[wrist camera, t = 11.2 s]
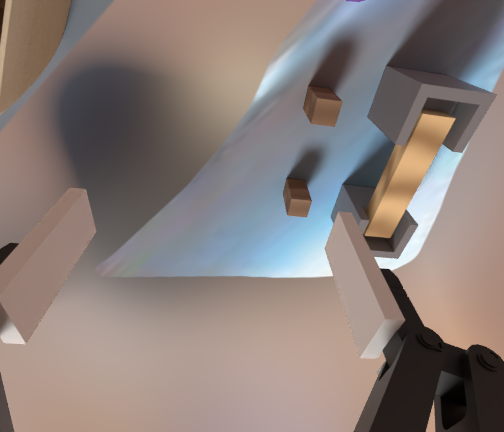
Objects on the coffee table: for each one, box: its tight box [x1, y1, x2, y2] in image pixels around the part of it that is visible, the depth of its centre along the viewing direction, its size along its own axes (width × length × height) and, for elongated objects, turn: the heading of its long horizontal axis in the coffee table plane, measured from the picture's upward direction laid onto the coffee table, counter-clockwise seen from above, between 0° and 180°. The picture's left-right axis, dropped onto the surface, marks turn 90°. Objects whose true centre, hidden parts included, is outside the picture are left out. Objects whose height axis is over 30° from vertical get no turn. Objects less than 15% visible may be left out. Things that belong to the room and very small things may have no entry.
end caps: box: [331, 66, 496, 259], centre depth 41 cm, size 24×8×10 cm, turn 172°
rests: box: [283, 85, 342, 217], centre depth 42 cm, size 17×3×6 cm, turn 172°
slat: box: [364, 108, 456, 238], centre depth 39 cm, size 18×4×2 cm, turn 172°
